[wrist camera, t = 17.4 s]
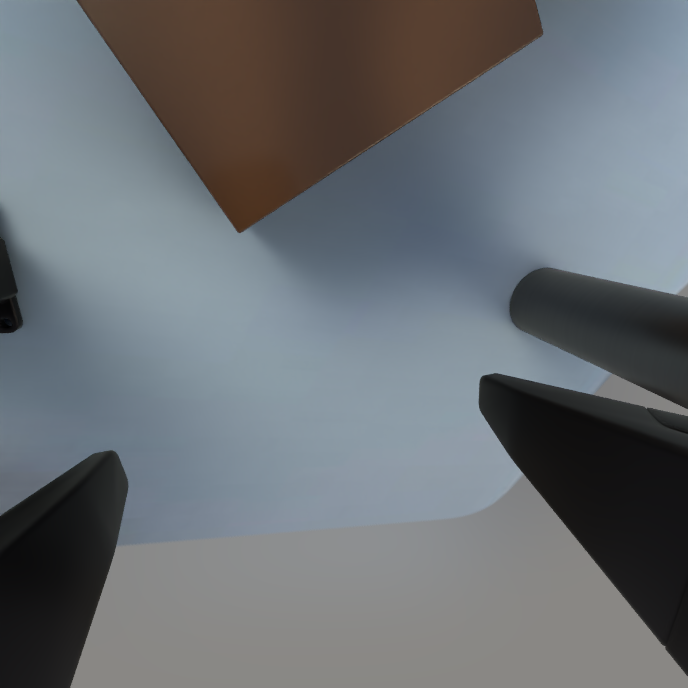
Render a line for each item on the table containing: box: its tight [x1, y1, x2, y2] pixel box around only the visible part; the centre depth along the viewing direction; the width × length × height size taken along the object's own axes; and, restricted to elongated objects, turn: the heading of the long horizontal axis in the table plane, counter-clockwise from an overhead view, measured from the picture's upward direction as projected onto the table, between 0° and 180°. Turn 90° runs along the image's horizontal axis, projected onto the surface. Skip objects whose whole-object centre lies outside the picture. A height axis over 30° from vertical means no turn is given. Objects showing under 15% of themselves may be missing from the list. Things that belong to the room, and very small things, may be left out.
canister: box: [510, 268, 688, 409], centre depth 19 cm, size 5×5×13 cm
